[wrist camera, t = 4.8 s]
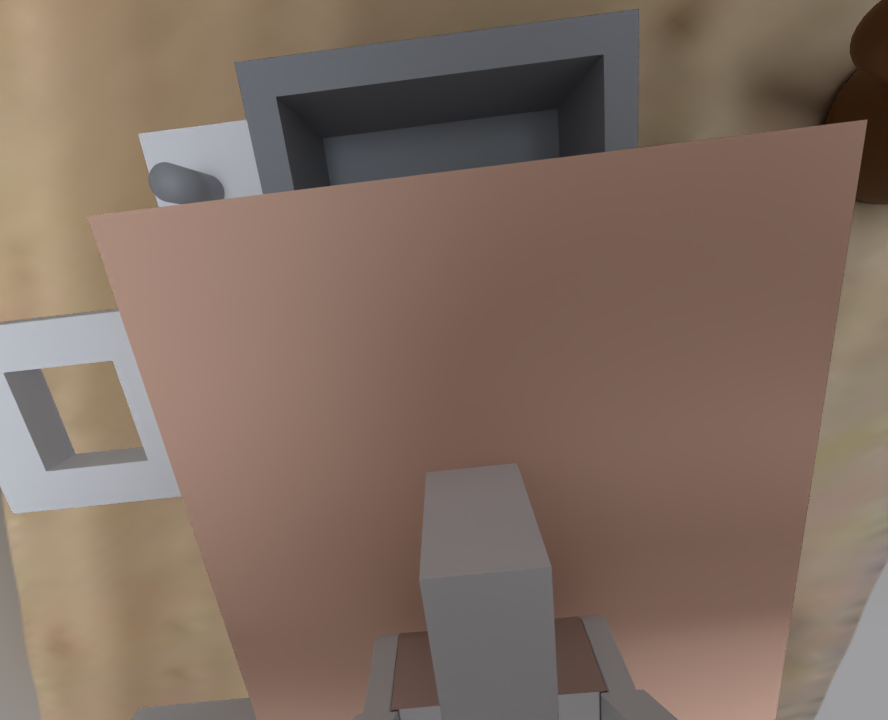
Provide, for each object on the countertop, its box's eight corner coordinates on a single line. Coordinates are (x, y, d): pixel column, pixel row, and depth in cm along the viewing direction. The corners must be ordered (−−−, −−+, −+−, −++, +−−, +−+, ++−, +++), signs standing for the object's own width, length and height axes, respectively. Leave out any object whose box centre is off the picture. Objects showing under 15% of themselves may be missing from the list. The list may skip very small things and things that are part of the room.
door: (-67, 243, 9) (-486, 248, 5) (809, 135, 8) (1145, 42, 4) (196, 835, 15) (101, 1065, 11) (730, 792, 14) (846, 1015, 10)
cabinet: (222, 130, 21) (62, 45, 12) (575, 85, 21) (677, -38, 12) (302, 476, 27) (231, 594, 18) (585, 445, 26) (661, 551, 17)
